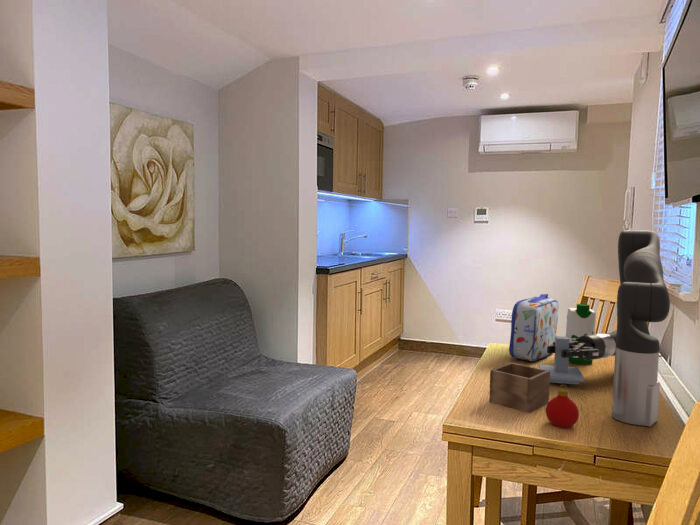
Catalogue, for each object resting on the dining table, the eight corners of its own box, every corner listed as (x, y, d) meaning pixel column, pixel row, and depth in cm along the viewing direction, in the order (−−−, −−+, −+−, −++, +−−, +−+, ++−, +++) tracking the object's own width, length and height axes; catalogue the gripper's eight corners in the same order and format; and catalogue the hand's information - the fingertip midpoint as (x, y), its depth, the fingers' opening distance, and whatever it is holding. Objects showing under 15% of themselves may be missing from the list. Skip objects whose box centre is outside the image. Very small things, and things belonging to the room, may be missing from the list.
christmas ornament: (574, 422, 124) (576, 381, 123) (581, 434, 117) (583, 391, 116) (542, 420, 125) (544, 379, 124) (547, 431, 118) (549, 388, 118)
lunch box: (531, 346, 200) (533, 289, 198) (559, 351, 194) (562, 292, 192) (505, 361, 178) (507, 297, 177) (535, 366, 172) (538, 300, 170)
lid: (584, 386, 148) (586, 343, 147) (542, 382, 150) (544, 340, 149) (577, 375, 158) (579, 334, 157) (539, 372, 161) (540, 332, 160)
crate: (548, 404, 136) (550, 370, 135) (529, 415, 128) (530, 379, 127) (509, 394, 144) (510, 362, 143) (489, 404, 136) (490, 370, 135)
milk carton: (567, 363, 176) (570, 305, 175) (563, 357, 185) (565, 301, 184) (595, 365, 175) (598, 306, 173) (589, 358, 183) (592, 302, 182)
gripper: (577, 329, 166) (537, 334, 159) (617, 339, 153) (575, 344, 146) (576, 353, 166) (536, 358, 159) (616, 364, 154) (574, 371, 146)
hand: (555, 351), depth 152 cm, fingers closed on lid, 4 cm apart
